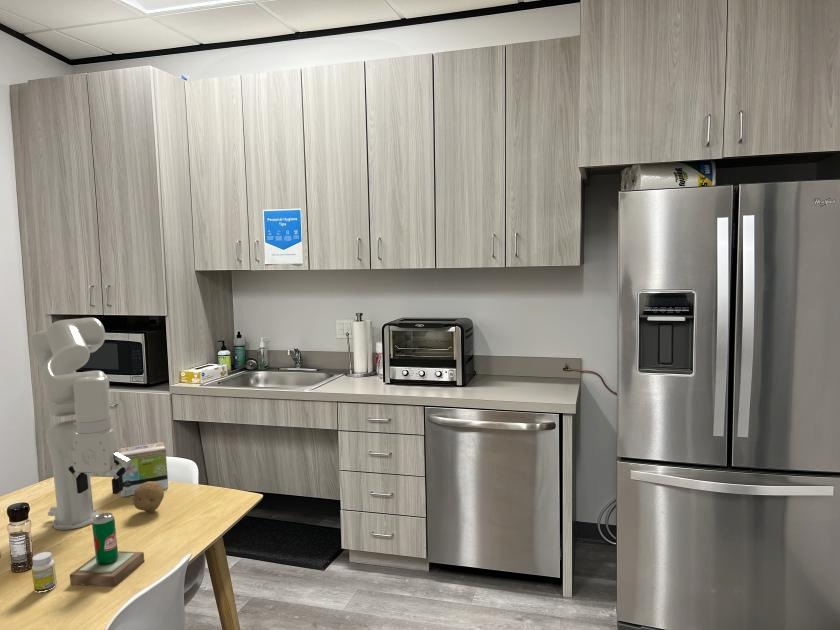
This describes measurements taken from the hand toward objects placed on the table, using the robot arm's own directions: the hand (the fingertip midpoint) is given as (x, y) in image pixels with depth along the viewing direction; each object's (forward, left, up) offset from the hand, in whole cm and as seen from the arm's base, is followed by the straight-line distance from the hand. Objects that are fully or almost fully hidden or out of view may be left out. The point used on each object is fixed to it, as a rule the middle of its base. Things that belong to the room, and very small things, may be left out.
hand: (100, 491), depth 151 cm
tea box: (-25, +54, -22) cm, 63 cm away
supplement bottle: (-11, -8, -22) cm, 26 cm away
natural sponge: (-11, +35, -22) cm, 42 cm away
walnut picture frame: (0, 0, -21) cm, 21 cm away
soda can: (0, 0, -19) cm, 19 cm away
